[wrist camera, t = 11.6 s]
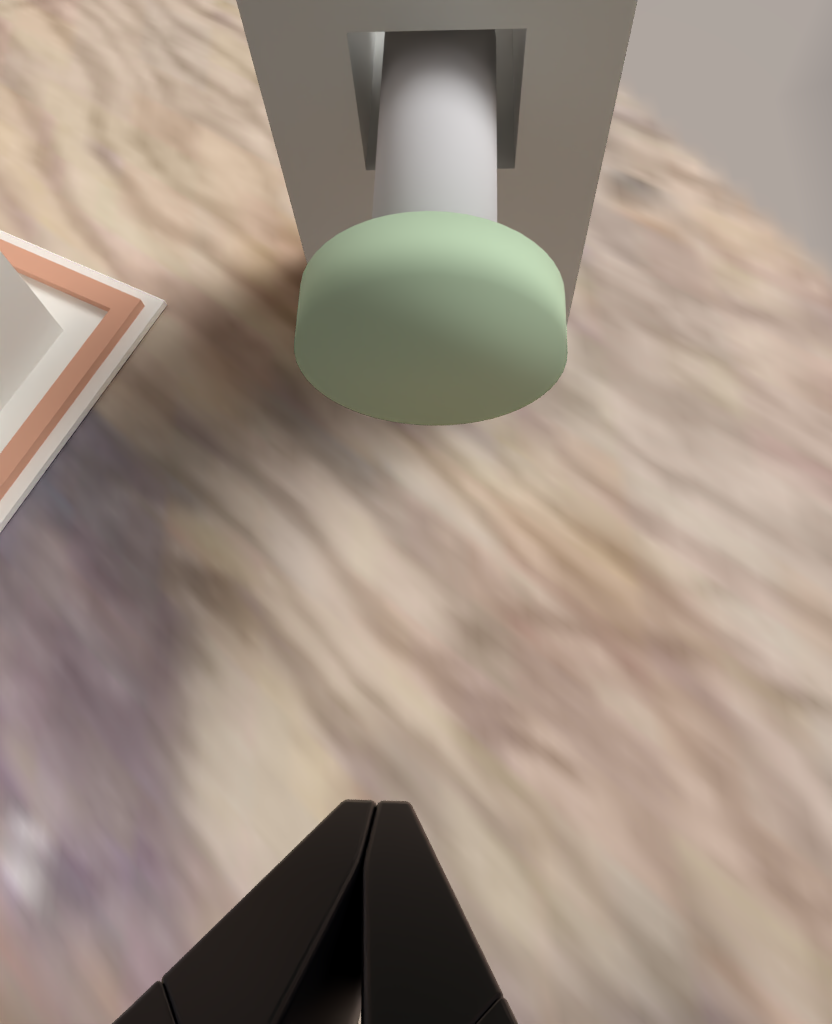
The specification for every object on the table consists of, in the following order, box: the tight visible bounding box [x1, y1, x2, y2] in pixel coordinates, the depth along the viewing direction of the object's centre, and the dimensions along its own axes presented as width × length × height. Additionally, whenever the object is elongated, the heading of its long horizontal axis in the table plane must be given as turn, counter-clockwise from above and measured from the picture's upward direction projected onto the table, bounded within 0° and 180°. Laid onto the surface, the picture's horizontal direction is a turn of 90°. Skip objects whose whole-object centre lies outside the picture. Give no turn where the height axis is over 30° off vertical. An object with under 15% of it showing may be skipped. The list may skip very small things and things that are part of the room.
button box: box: [236, 0, 637, 327], centre depth 17 cm, size 4×6×10 cm, turn 88°
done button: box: [294, 29, 568, 425], centre depth 13 cm, size 7×4×4 cm, turn 178°
